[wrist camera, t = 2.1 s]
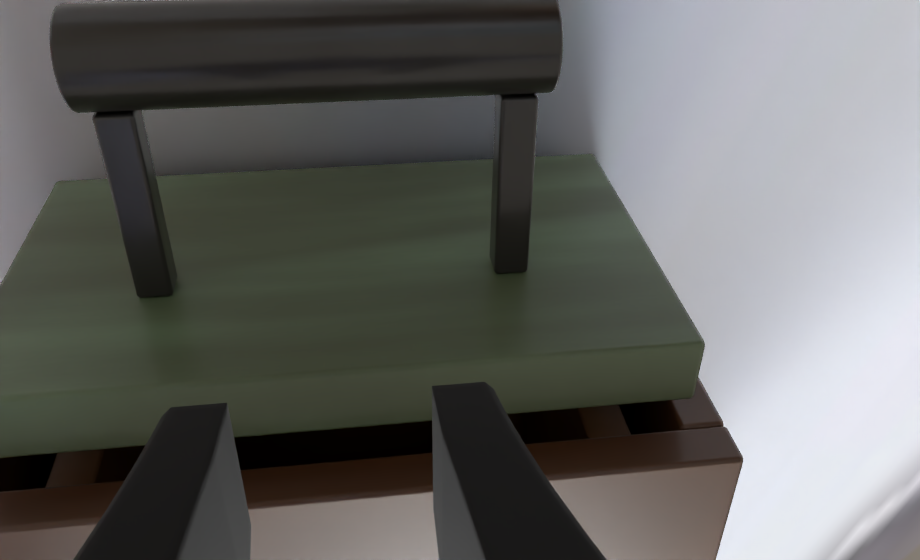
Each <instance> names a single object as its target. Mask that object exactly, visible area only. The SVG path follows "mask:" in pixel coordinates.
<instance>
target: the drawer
mask: <svg viewBox="0 0 920 560" xmlns="http://www.w3.org/2000/svg"><path fill="white" fill-rule="evenodd" d="M49 40H50V53H51V60H52V66H53V71H54V75H55V79H56V82H57V85H58V88H59V91H60V93H61V95H62V97H63V99H64V101H65V103H66V105H67V106H68V107H69V108H70V109H71V110H72V111H74V112H77V113H89V112H95V113H94V115H93V123H94V127H95V131H96V135H97V139H98V143H99V147H100V151H101V155H102V159H103V163H104V167H105V171H106V175H107V179H90V180H71V181H59V182H56V184H55V186H54V187H53V189H52V191H51V193H50V195H49V197H48V198H47V200H46V202H45V204H44V206H43V207H42V209H41V211H40V213H39V215H38V217H37V218H36V220H35V222H34V224H33V226H32V228H31V229H30V231H29V233H28V235H27V237H26V239H25V240H24V242H23V244H22V246H21V248H20V250H19V251H18V253H17V255H16V257H15V259H14V261H13V262H12V264H11V266H10V268H9V270H8V272H7V273H6V275H5V277H4V279H3V281H2V283H1V284H0V458H7V457H18V456H30V455H41V454H53V453H57V455H56V458H55V461H54V464H53V466H52V469H51V472H50V475H49V478H48V481H47V484H46V486H45V488H47V487H58V486H70V485H81V484H92V483H103V482H114V481H125V479H126V477H127V476H128V474H129V472H130V471H131V469H132V467H133V466H134V464H135V462H136V461H137V459H138V457H139V456H140V454H141V452H142V451H143V449H144V447H145V445H146V444H147V442H148V440H149V438H150V437H151V435H152V433H153V431H154V430H155V428H156V426H157V424H158V422H159V420H160V419H161V417H162V415H163V414H164V413H166V412H167V411H168V410H169V409H170V408H171V407H180V406H193V405H205V404H217V403H227V404H228V409H229V414H230V420H231V425H232V430H233V435H234V440H235V445H236V450H237V455H238V460H239V466H240V470H246V469H257V468H268V467H279V466H290V465H301V464H312V463H323V462H334V461H345V460H356V459H367V458H378V457H390V456H401V455H412V454H423V453H433V445H432V386H438V385H450V384H462V383H474V382H486V383H487V384H488V385H490V386H491V387H492V388H493V389H494V390H495V392H496V394H497V396H498V398H499V400H500V402H501V404H502V406H503V408H504V409H505V411H506V413H507V415H508V417H509V418H510V420H511V422H512V424H513V425H514V427H515V429H516V430H517V432H518V434H519V435H520V437H521V439H522V440H523V442H524V444H533V443H544V442H555V441H566V440H577V439H588V438H599V437H610V436H621V435H631V433H630V431H629V428H628V426H627V424H626V421H625V419H624V416H623V414H622V412H621V409H620V407H619V405H621V404H632V403H644V402H655V401H667V400H679V399H690V398H692V397H693V396H694V392H695V388H696V383H697V379H698V374H699V370H700V365H701V361H702V356H703V352H704V347H705V343H704V341H703V339H702V337H701V335H700V334H699V332H698V330H697V329H696V327H695V325H694V324H693V322H692V320H691V319H690V317H689V315H688V313H687V312H686V310H685V308H684V307H683V305H682V303H681V302H680V300H679V298H678V296H677V295H676V293H675V291H674V290H673V288H672V286H671V285H670V283H669V281H668V280H667V278H666V276H665V274H664V273H663V271H662V269H661V268H660V266H659V264H658V263H657V261H656V259H655V258H654V256H653V254H652V252H651V251H650V249H649V247H648V246H647V244H646V242H645V241H644V239H643V237H642V236H641V234H640V232H639V230H638V229H637V227H636V225H635V224H634V222H633V220H632V219H631V217H630V215H629V214H628V212H627V210H626V208H625V207H624V205H623V203H622V202H621V200H620V198H619V197H618V195H617V193H616V191H615V190H614V188H613V186H612V185H611V183H610V181H609V180H608V178H607V176H606V175H605V173H604V171H603V169H602V168H601V166H600V164H599V163H598V161H597V159H596V158H595V156H594V155H593V154H576V155H557V156H538V157H535V149H536V134H537V118H538V103H539V99H538V97H537V95H536V93H550V92H552V91H554V90H555V88H556V86H557V84H558V81H559V77H560V73H561V67H562V58H563V26H562V17H561V11H560V6H559V2H558V0H160V1H125V2H90V3H62V4H59V5H57V6H56V7H55V8H54V10H53V13H52V16H51V21H50V33H49ZM486 95H495V115H494V144H493V159H479V160H460V161H440V162H421V163H401V164H382V165H363V166H343V167H324V168H304V169H285V170H265V171H246V172H226V173H207V174H187V175H168V176H156V174H155V170H154V165H153V160H152V156H151V151H150V146H149V142H148V137H147V132H146V128H145V123H144V118H143V114H142V110H159V109H183V108H206V107H229V106H253V105H276V104H299V103H323V102H346V101H369V100H393V99H416V98H440V97H463V96H486Z"/></svg>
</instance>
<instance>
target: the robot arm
mask: <svg viewBox="0 0 920 560" xmlns="http://www.w3.org/2000/svg"><path fill="white" fill-rule="evenodd" d="M432 445H433V510H434V519H435V528H436V537H437V546H438V555H439V560H607V559H606V558H605V557H604V555H603V554H602V553H601V551H600V550H599V549H598V548H597V546H596V545H595V544H594V542H593V541H592V540H591V538H590V537H589V536H588V535H587V533H586V532H585V530H584V529H583V528H582V526H581V525H580V524H579V522H578V521H577V519H576V518H575V517H574V515H573V514H572V513H571V511H570V510H569V508H568V507H567V506H566V504H565V503H564V502H563V500H562V499H561V497H560V496H559V495H558V493H557V492H556V491H555V489H554V488H553V486H552V485H551V483H550V482H549V480H548V479H547V477H546V476H545V474H544V473H543V471H542V470H541V468H540V467H539V465H538V464H537V462H536V461H535V459H534V458H533V456H532V454H531V453H530V451H529V450H528V448H527V447H526V445H525V444H524V442H523V440H522V439H521V437H520V435H519V434H518V432H517V430H516V429H515V427H514V425H513V424H512V422H511V420H510V418H509V417H508V415H507V413H506V411H505V409H504V408H503V406H502V404H501V402H500V400H499V398H498V396H497V394H496V392H495V390H494V389H493V388H492V387H491V386H490V385H488V384H487V383H486V382H474V383H462V384H450V385H438V386H432ZM250 553H251V522H250V517H249V512H248V507H247V501H246V496H245V491H244V486H243V481H242V476H241V471H240V466H239V460H238V455H237V450H236V445H235V440H234V435H233V430H232V425H231V420H230V414H229V409H228V404H227V403H217V404H205V405H193V406H180V407H171V408H170V409H169V410H168V411H167V412H166V413H164V414H163V415H162V417H161V419H160V420H159V422H158V424H157V426H156V428H155V430H154V431H153V433H152V435H151V437H150V438H149V440H148V442H147V444H146V445H145V447H144V449H143V451H142V452H141V454H140V456H139V457H138V459H137V461H136V462H135V464H134V466H133V467H132V469H131V471H130V472H129V474H128V476H127V477H126V479H125V481H124V482H123V484H122V486H121V487H120V489H119V490H118V492H117V494H116V495H115V497H114V498H113V500H112V502H111V503H110V505H109V506H108V508H107V510H106V511H105V513H104V514H103V516H102V517H101V519H100V520H99V522H98V523H97V525H96V526H95V528H94V529H93V531H92V532H91V534H90V535H89V537H88V538H87V540H86V541H85V543H84V544H83V546H82V547H81V549H80V550H79V552H78V553H77V555H76V556H75V558H74V559H73V560H250Z"/></svg>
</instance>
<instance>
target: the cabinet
mask: <svg viewBox="0 0 920 560" xmlns="http://www.w3.org/2000/svg"><path fill="white" fill-rule="evenodd" d="M619 407H620V409H621V412H622V414H623V416H624V419H625V421H626V424H627V426H628V428H629V431H630V433H631V435H621V436H610V437H599V438H588V439H577V440H566V441H555V442H544V443H533V444H525V445H526V447H527V448H528V450H529V451H530V453H531V454H532V456H533V458H534V459H535V461H536V462H537V464H538V465H539V467H540V468H541V470H542V471H543V473H544V474H545V476H546V477H547V479H548V480H549V482H550V483H551V485H552V486H553V488H554V489H555V491H556V492H557V493H558V495H559V496H560V497H561V499H562V500H563V502H564V503H565V504H566V506H567V507H568V508H569V510H570V511H571V513H572V514H573V515H574V517H575V518H576V519H577V521H578V522H579V524H580V525H581V526H582V528H583V529H584V530H585V532H586V533H587V535H588V536H589V537H590V538H591V540H592V541H593V542H594V544H595V545H596V546H597V548H598V549H599V550H600V551H601V553H602V554H603V555H604V557H605V558H606V559H607V560H716V556H717V553H718V549H719V545H720V542H721V538H722V535H723V531H724V528H725V524H726V520H727V517H728V513H729V510H730V506H731V503H732V499H733V495H734V492H735V488H736V485H737V481H738V478H739V474H740V470H741V467H742V463H743V457H742V455H741V453H740V451H739V449H738V448H737V446H736V444H735V442H734V440H733V439H732V437H731V435H730V433H729V431H728V430H727V428H726V427H723V421H722V419H721V417H720V416H719V414H718V412H717V410H716V408H715V407H714V405H713V403H712V401H711V399H710V397H709V396H708V394H707V392H706V390H705V388H704V387H703V385H702V383H701V381H700V379H699V378H698V379H697V383H696V388H695V392H694V396H693V397H692V398H690V399H679V400H667V401H655V402H644V403H632V404H621V405H619ZM56 455H57V453H53V454H41V455H30V456H18V457H7V458H0V560H73V559H74V558H75V556H76V555H77V553H78V552H79V550H80V549H81V547H82V546H83V544H84V543H85V541H86V540H87V538H88V537H89V535H90V534H91V532H92V531H93V529H94V528H95V526H96V525H97V523H98V522H99V520H100V519H101V517H102V516H103V514H104V513H105V511H106V510H107V508H108V506H109V505H110V503H111V502H112V500H113V498H114V497H115V495H116V494H117V492H118V490H119V489H120V487H121V486H122V484H123V482H124V481H114V482H103V483H92V484H81V485H70V486H58V487H47V488H45V486H46V484H47V481H48V478H49V475H50V472H51V469H52V466H53V464H54V461H55V458H56ZM240 471H241V476H242V481H243V486H244V491H245V496H246V501H247V507H248V512H249V517H250V522H251V553H250V560H439V555H438V546H437V537H436V528H435V519H434V510H433V453H423V454H412V455H401V456H390V457H378V458H367V459H356V460H345V461H334V462H323V463H312V464H301V465H290V466H279V467H268V468H257V469H246V470H240Z"/></svg>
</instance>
